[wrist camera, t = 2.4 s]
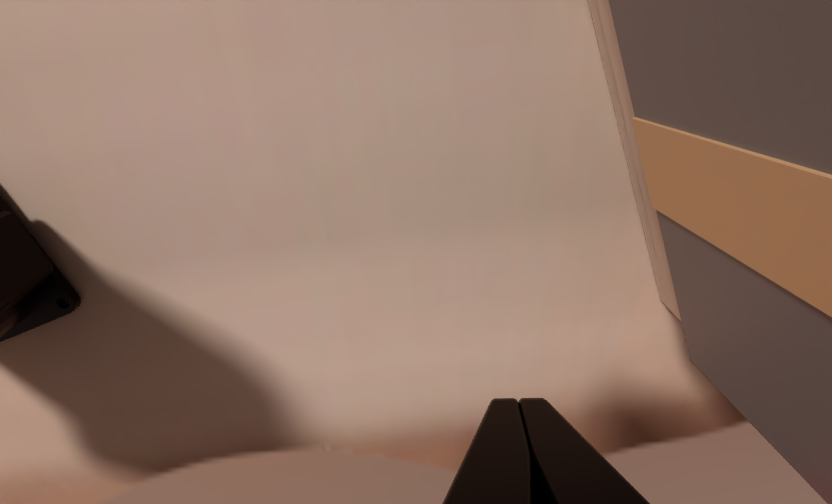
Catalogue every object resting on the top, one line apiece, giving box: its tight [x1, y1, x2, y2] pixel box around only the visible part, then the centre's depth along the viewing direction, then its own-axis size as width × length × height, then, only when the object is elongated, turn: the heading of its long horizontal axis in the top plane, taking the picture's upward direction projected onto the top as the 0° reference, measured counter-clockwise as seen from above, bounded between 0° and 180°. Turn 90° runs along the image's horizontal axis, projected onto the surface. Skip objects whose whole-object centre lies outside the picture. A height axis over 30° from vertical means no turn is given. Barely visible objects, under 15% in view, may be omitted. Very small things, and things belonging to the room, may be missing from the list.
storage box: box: [588, 0, 681, 321], centre depth 16 cm, size 8×16×4 cm, turn 23°
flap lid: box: [608, 0, 832, 504], centre depth 11 cm, size 8×16×1 cm
